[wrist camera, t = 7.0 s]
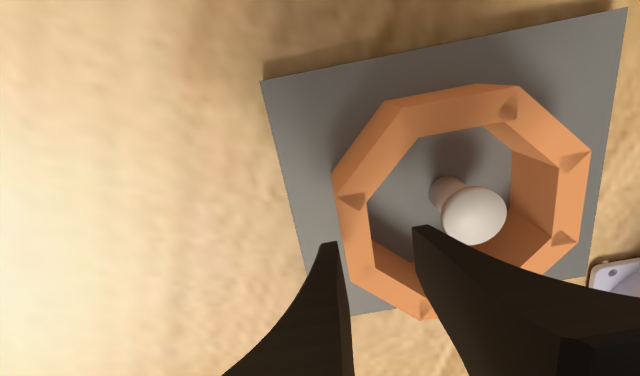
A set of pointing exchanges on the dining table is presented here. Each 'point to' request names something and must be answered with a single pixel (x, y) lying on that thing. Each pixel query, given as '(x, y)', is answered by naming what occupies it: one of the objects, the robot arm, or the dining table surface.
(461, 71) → the hook board
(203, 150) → the dining table surface
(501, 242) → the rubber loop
